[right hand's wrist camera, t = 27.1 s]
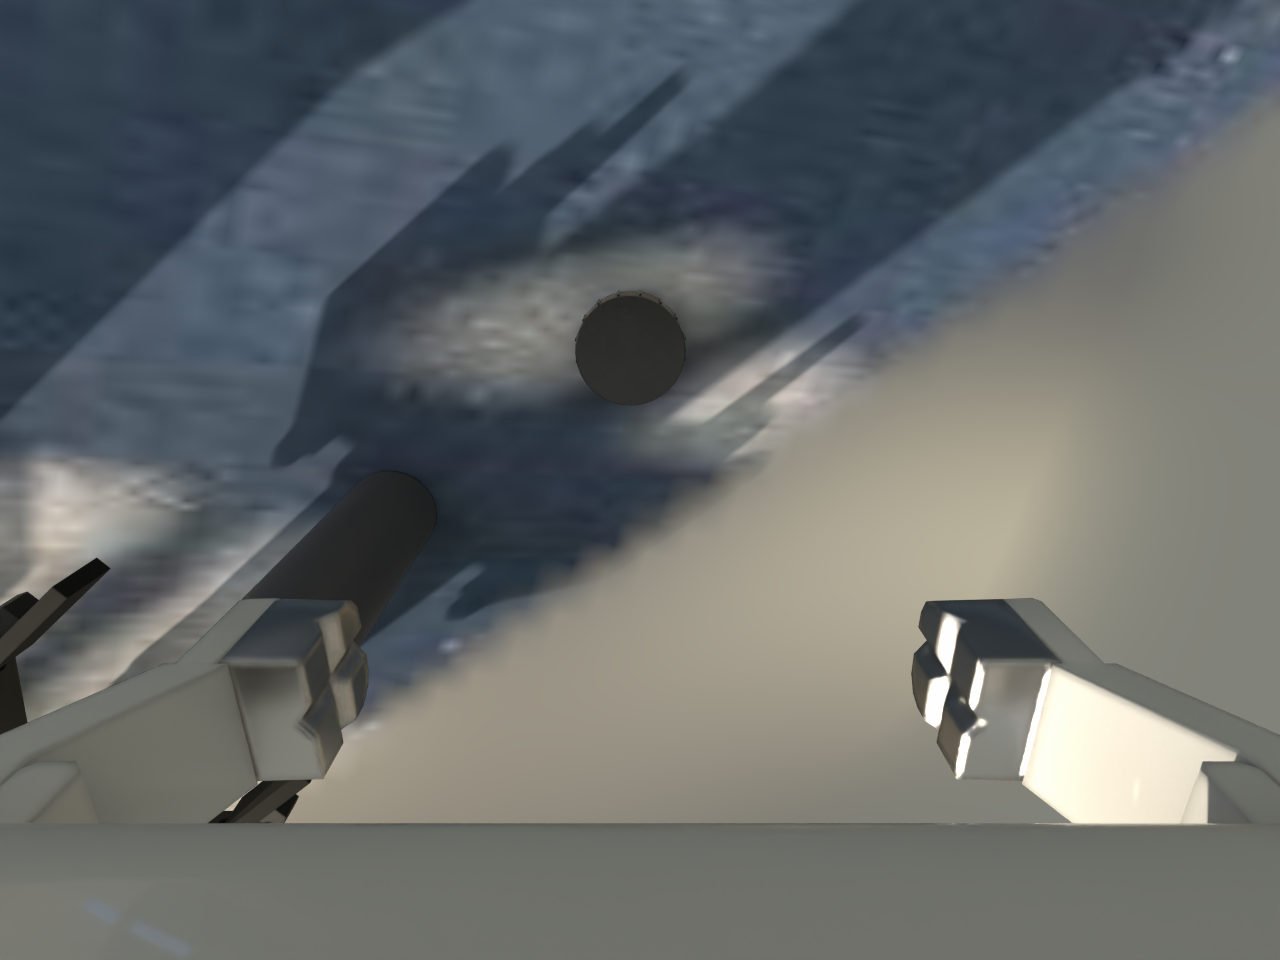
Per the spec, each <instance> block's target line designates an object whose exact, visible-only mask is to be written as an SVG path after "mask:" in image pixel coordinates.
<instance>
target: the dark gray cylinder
mask: <svg viewBox="0 0 1280 960" xmlns="http://www.w3.org/2000/svg"><path fill="white" fill-rule="evenodd" d="M435 523H436V507H435V504H434V501H433V499H432V497H431V495H430V494H429V492H428V491H427V489H426V488H425V487H424V486H423V485H422V484H421V483H419V482H418V481H417V480H415V479H414V478H412V477H410V476H408V475H406V474H403V473H399V472H394V471H382V472H376V473H373V474H371V475H368V476H366V477H365V478H363V479H362V480H361V481H360V482H359V483H358V484H357V485H356V486H355V487H354V488H353V489H352V490H351V491H350V492H349V493H348V494H347V495H346V496H345V497H344V498H343V499H342V500H341V501H340V502H339V503H338V504H337V505H336V506H335V507H334V508H333V509H332V510H331V511H330V512H329V513H328V514H327V515H326V516H325V517H324V518H323V519H322V520H321V521H320V522H319V523H318V524H317V525H316V526H315V527H314V528H313V529H312V530H311V531H310V532H309V533H308V534H307V535H306V536H305V537H304V538H303V539H302V540H301V541H300V542H299V543H298V544H297V545H296V546H295V547H294V548H293V549H292V550H291V551H290V552H289V553H288V554H287V555H286V556H285V557H284V558H283V559H282V560H281V561H280V562H279V563H278V564H277V565H276V566H275V567H274V568H273V569H272V570H271V571H270V572H269V573H268V574H267V575H266V576H265V577H264V578H263V579H262V580H261V581H260V582H259V583H258V584H257V585H256V586H255V587H254V588H253V589H252V590H251V591H250V592H249V593H248V594H247V595H246V596H245V597H244V598H243V599H242V600H245V599H266V598H279V599H317V600H351V601H352V602H353V603H354V604H355V605H356V606H357V607H358V612H359V617H360V622H361V629H360V630H359V632H358V633H357V635H356V637H355V638H354V640H353V641H354V642H355V643H356V644H357V645H358V646H359V647H360V646H361V645H362V643H363V642H364V640H365V638H366V637H367V635H368V634H369V632H370V630H371V629H372V627H373V626H374V624H375V622H376V621H377V619H378V618H379V616H380V614H381V613H382V611H383V610H384V608H385V606H386V605H387V603H388V602H389V600H390V598H391V597H392V595H393V594H394V592H395V590H396V589H397V587H398V586H399V584H400V583H401V581H402V579H403V578H404V576H405V575H406V573H407V571H408V570H409V568H410V567H411V565H412V563H413V562H414V560H415V559H416V557H417V555H418V554H419V552H420V551H421V549H422V547H423V546H424V544H425V543H426V541H427V539H428V538H429V536H430V535H431V533H432V531H433V529H434V527H435Z"/></svg>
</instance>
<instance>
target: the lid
mask: <svg viewBox="0 0 1280 960" xmlns="http://www.w3.org/2000/svg"><path fill="white" fill-rule="evenodd" d="M677 319H678V318H677V315H676V313H675V314H673V312H672V311H671V310H670V309H669V307H668V306H666V305H665V304H664V303H663V302H662V299H660V298H659V299H657V298H655V297H653V296H651V295H649V294H646V293H642V291H641V290H639V292H637V291H625V292H620V291H618V293H615V294H612V295H610V296H608V297H606V298H604V299H602V300H600V299H599V300H598V302H597V304H596V305H595V306H594V307H593V308H592V309H591V310H590V311H589V312H588V314H587V315H584V317H583V319H582V321H583V323H582V325H581V327H580V330H579V332H578V334H577V336H576V338H575V341H576V349H575V354H576V363H577V365H578V368H579V371H580V373H581V375H582V377H583V379H584V380H585V382H586V383H587V385H588V386H589V387H590V388H591V389H592V390H593V391H594V392H595V393H597V394H598V395H599V396H601V397H602V398H604V399H606V400H608V401H610V402H613V403H617V404H622V405H640V404H645V403H648V402H651V401H653V400H655V399H657V398H659V397H660V396H662V395H663V394H665V393H666V392H667V391H668V390H669V389H670V388H671V387H672V386H673V385H674V383H675V382H676V381H677V379H678V377H679V375H680V373H681V371H682V368H683V364H684V361H685V342H684V340H686V339H685V335H684V333H682V331H681V328H680V325H679V323H678V320H677Z"/></svg>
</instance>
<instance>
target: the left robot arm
mask: <svg viewBox="0 0 1280 960" xmlns="http://www.w3.org/2000/svg"><path fill="white" fill-rule="evenodd" d="M109 569H110V568H109V567H108V566H107V565H105V564H104V563H103V562H102V561H100V560H99V559H98V558H96V559H94V560H92V561H91V562H89V563H88V564H86V565H85V566H83V567H82V568H80V569H79V570H77V571H76V572H74V573H73V574H71V575H70V576H68V577H67V578H65V579H64V580H62V581H60V582H59V583H57V584H56V585H54V586H53V587H52V588H51V589H50V590H49V591H48V592H47V593H46V594H45V595H44V596H43V597H42V598H41V599H40V600H38V599H37V598H35V597H34V596H33V595H31V594H30V593H29V592H25V593H22V594H19V595H17V596H15V597H13V598H12V599H10V600H9V601H7V602H6V603H4V604H2V605H1V606H0V735H1V734H3V733H5V732H8V731H10V730H12V729H15V728H17V727H19V726H22V725H24V724H26V723H27V718H26V713H25V707H24V702H23V696H22V691H21V685H20V680H19V674H18V669H17V663H16V658H15V657H16V656H17V655H19V654H20V653H21V652H23V651H24V650H25V649H27V648H28V647H30V646H31V645H32V644H33V643H35V642H36V641H37V640H38V639H39V638H40V637H41V636H42V635H43V634H44V633H45V632H46V631H47V630H48V629H49V628H50V627H51V626H52V625H53V624H54V623H55V622H56V621H57V620H58V619H59V618H60V617H61V616H62V615H63V614H64V613H65V612H66V611H67V610H68V609H69V608H70V607H71V606H73V605H74V604H75V603H76V602H77V601H78V600H79V599H80V598H81V597H82V596H83V595H84V594H85V593H86V592H87V591H88V590H89V589H90V588H91V587H92V586H93V585H94V584H95V583H96V582H97V581H98V580H99V579H100V578H101V577H102V576H103V575H104V574H105V573H106V572H107V571H108V570H109ZM311 780H312V779H308V780H273V781H262V782H261V783H260V784H258V785H257V786H256V787H254V788H253V789H252V790H251V791H249V792H248V793H247V794H246V795H244V796H243V797H242V798H241V800H240V801H239V803H238V804H237V806H236V807H235V809H234V810H233V811H222V812H221V813H220V814H219V815H217V816H216V817H215V818H213V819H212V820H211V821H210V822H208V823H285V821H286V819H287V818H288V816H289V814H290V812H291V810H292V809H293V807H294V805H295V804H296V801H297V799H298V797H299V796H298V795H296V793H298V792H299V791H300V790H301V789H303V788H304V787H305V786H307V785H308V784H309V783H310V782H311Z"/></svg>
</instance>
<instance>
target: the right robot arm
mask: <svg viewBox="0 0 1280 960" xmlns="http://www.w3.org/2000/svg"><path fill="white" fill-rule="evenodd" d="M360 629H361V622H360V617H359V612H358V607H357V606H356V605H355V604H354V603H353V602H352V601H351V600H317V599H279V598H266V599H245V600H240V601H239V602H237V603H236V604H235V605H234V606H233V607H232V608H231V609H230V610H229V611H228V612H227V613H226V614H225V615H224V616H223V617H222V618H221V619H220V620H219V621H218V622H217V623H216V624H215V625H214V626H213V627H212V628H211V629H210V630H209V631H208V632H207V633H206V634H205V635H204V636H203V637H202V638H201V639H200V640H199V641H198V642H197V643H196V644H195V645H194V646H193V647H192V648H191V649H190V650H189V651H188V652H187V653H185V654H184V655H183V656H182V657H181V658H180V659H179V660H178V661H177V662H176V663H175V664H162V665H159V666H157V667H155V668H152V669H150V670H148V671H145V672H143V673H141V674H139V675H136V676H134V677H132V678H129V679H127V680H125V681H123V682H120V683H118V684H116V685H113V686H111V687H109V688H106V689H104V690H102V691H100V692H97V693H95V694H93V695H90V696H88V697H86V698H83V699H81V700H79V701H77V702H74V703H72V704H70V705H67V706H65V707H63V708H61V709H58V710H56V711H54V712H51V713H49V714H47V715H44V716H42V717H40V718H38V719H35V720H33V721H31V722H28V723H26V724H24V725H22V726H19V727H17V728H15V729H12V730H10V731H8V732H5V733H3V734H1V735H0V960H1280V735H1279V734H1276V733H1274V732H1272V731H1270V730H1267V729H1265V728H1263V727H1260V726H1258V725H1256V724H1253V723H1251V722H1249V721H1247V720H1244V719H1242V718H1240V717H1237V716H1235V715H1233V714H1231V713H1228V712H1226V711H1224V710H1221V709H1219V708H1217V707H1215V706H1212V705H1210V704H1208V703H1205V702H1203V701H1201V700H1199V699H1196V698H1194V697H1192V696H1189V695H1187V694H1185V693H1183V692H1180V691H1178V690H1176V689H1173V688H1171V687H1169V686H1166V685H1164V684H1162V683H1160V682H1157V681H1155V680H1153V679H1150V678H1148V677H1146V676H1144V675H1141V674H1139V673H1137V672H1134V671H1132V670H1130V669H1128V668H1125V667H1123V666H1121V665H1118V664H1105V663H1104V662H1103V661H1102V660H1101V659H1100V658H1099V657H1098V656H1097V655H1096V654H1095V653H1094V652H1093V651H1092V650H1090V649H1089V648H1088V647H1087V646H1086V645H1085V644H1084V643H1083V642H1082V641H1081V640H1080V639H1079V638H1078V637H1077V636H1076V635H1075V634H1074V633H1073V632H1072V631H1071V630H1070V629H1069V628H1068V627H1067V626H1066V625H1065V624H1064V623H1063V622H1062V621H1061V620H1060V619H1059V618H1058V617H1057V616H1056V615H1055V614H1054V613H1053V612H1052V611H1051V610H1050V609H1049V608H1048V607H1047V606H1046V605H1045V604H1044V603H1043V602H1042V601H1039V600H1036V599H1033V598H1020V599H990V600H949V601H927V602H926V603H925V605H924V607H923V609H922V611H921V616H920V621H919V629H920V630H921V632H922V633H923V635H924V637H925V638H926V640H927V641H926V642H925V643H924V644H923V645H922V646H921V647H920V648H919V649H918V650H917V651H916V652H915V653H914V658H913V665H912V673H911V675H912V686H913V694H914V697H915V701H916V704H917V707H918V709H919V711H920V713H921V715H922V717H923V719H924V720H925V721H927V722H928V723H930V724H931V725H933V726H934V727H936V728H937V729H939V732H938V738H937V744H938V746H939V748H940V750H941V751H942V753H943V755H944V757H945V759H946V760H947V762H948V764H949V766H950V768H951V769H952V771H953V773H954V775H955V776H956V778H957V779H971V780H1007V781H1023V782H1022V784H1023V785H1024V786H1026V787H1027V788H1028V789H1030V790H1031V791H1032V792H1033V793H1035V794H1036V795H1037V796H1039V797H1040V798H1041V799H1042V800H1044V801H1045V802H1046V803H1048V804H1049V805H1050V806H1051V807H1053V808H1054V809H1055V810H1057V811H1058V812H1059V813H1060V814H1062V815H1063V816H1064V817H1066V818H1067V819H1068V820H1070V821H1071V822H1072V823H208V822H210V821H211V820H212V819H213V818H215V817H216V816H217V815H219V814H220V813H221V812H222V811H224V810H225V809H226V808H228V807H229V806H230V805H231V804H233V803H234V802H235V801H237V800H238V799H239V798H240V797H242V796H243V795H244V794H246V793H247V792H248V791H249V790H251V789H252V788H253V787H255V786H256V785H257V781H273V780H308V779H323V778H324V777H325V775H326V773H327V771H328V769H329V768H330V766H331V764H332V762H333V760H334V759H335V757H336V755H337V753H338V751H339V750H340V748H341V746H342V744H343V738H342V732H341V729H343V728H344V727H346V726H347V725H349V724H350V723H352V722H353V721H355V720H356V719H357V717H358V715H359V713H360V711H361V709H362V707H363V705H364V701H365V696H366V692H367V688H368V663H367V657H366V653H365V652H364V651H363V650H362V649H361V648H360V647H359V646H358V645H357V644H356V643H355V642H354V641H353V640H354V638H355V637H356V635H357V633H358V632H359V630H360Z"/></svg>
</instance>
